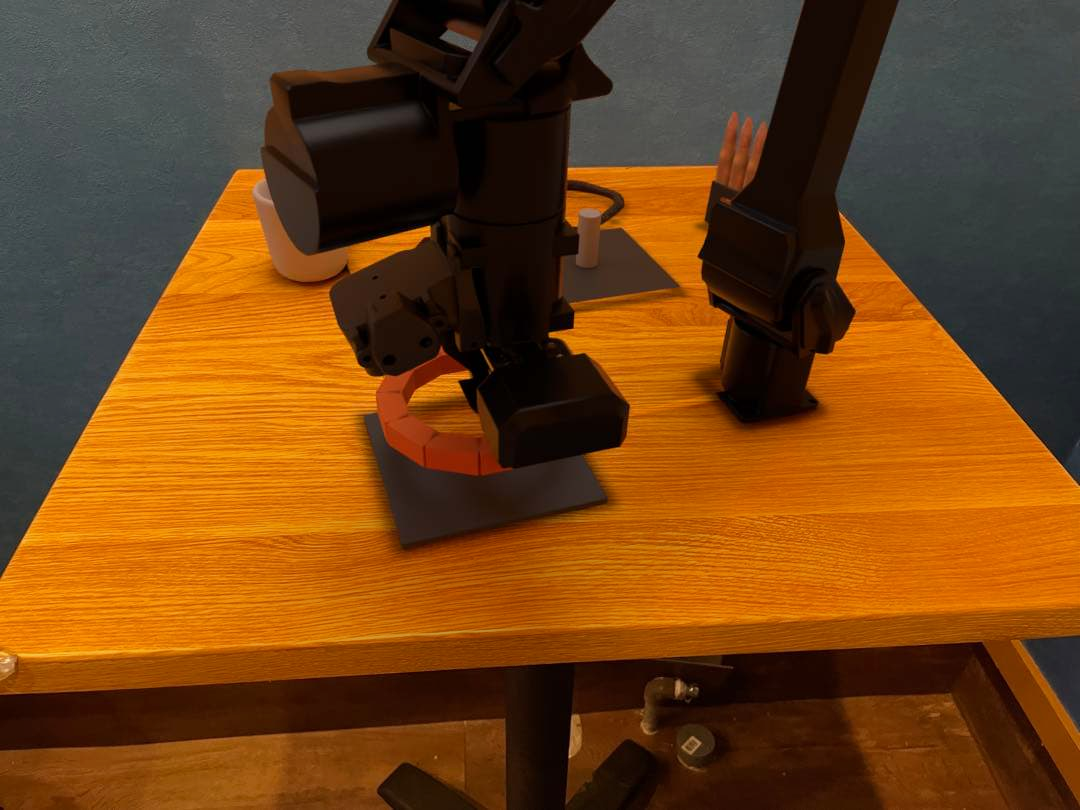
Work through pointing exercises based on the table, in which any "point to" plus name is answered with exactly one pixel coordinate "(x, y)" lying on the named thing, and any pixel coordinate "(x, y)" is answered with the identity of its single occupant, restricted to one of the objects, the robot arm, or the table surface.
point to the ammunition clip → (736, 161)
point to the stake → (609, 264)
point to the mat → (476, 493)
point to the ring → (422, 438)
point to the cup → (285, 251)
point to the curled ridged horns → (603, 192)
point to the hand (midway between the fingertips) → (504, 455)
